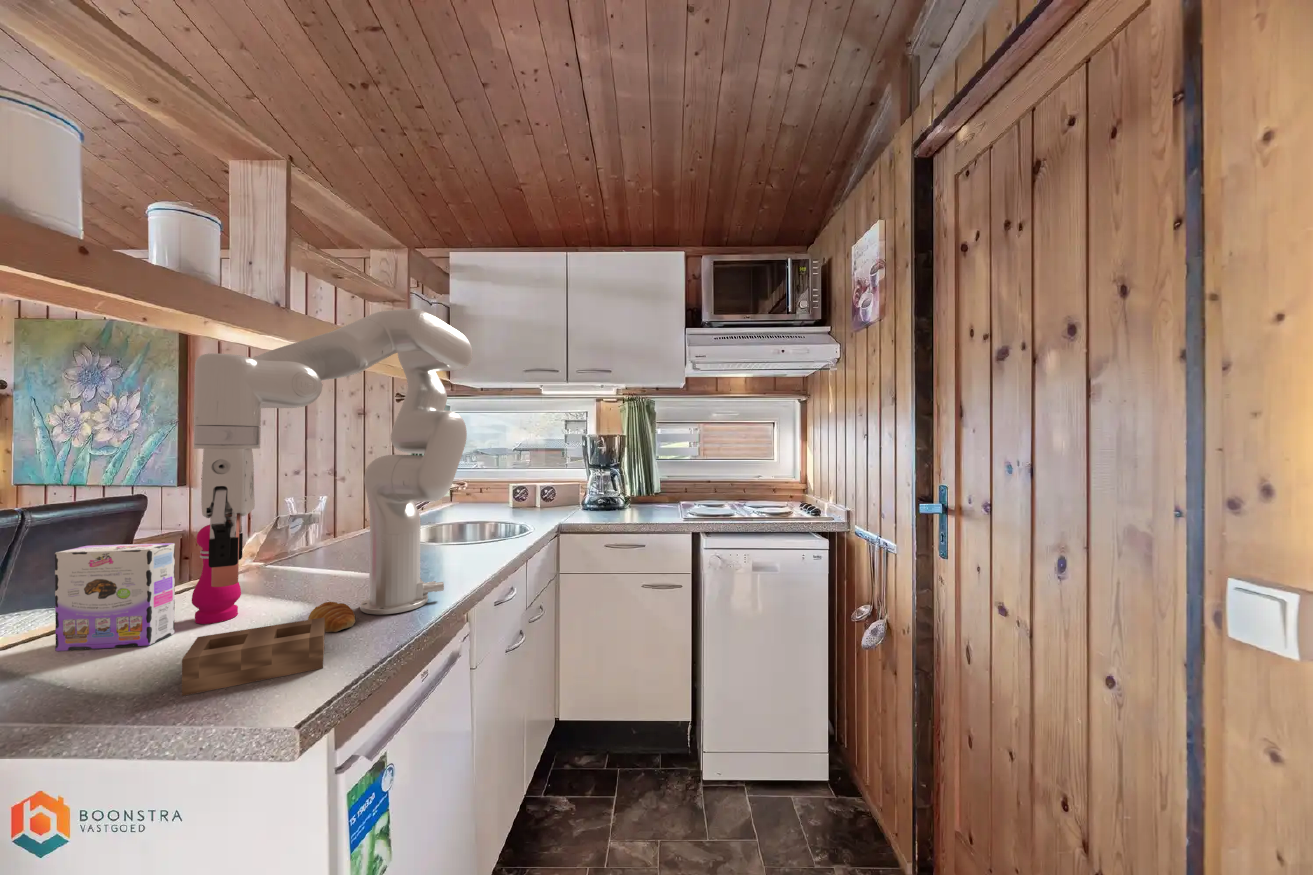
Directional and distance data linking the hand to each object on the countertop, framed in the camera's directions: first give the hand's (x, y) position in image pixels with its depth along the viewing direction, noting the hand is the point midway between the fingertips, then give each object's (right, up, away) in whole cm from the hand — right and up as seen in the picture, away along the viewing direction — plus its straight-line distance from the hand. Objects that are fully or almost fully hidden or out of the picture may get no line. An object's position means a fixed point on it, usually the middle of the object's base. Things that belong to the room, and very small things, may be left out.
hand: (226, 562), depth 74 cm
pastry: (+3, -17, +21) cm, 27 cm away
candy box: (-29, -17, +12) cm, 35 cm away
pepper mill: (-22, -17, +23) cm, 36 cm away
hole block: (+3, -17, +2) cm, 17 cm away
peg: (0, -3, 0) cm, 3 cm away
